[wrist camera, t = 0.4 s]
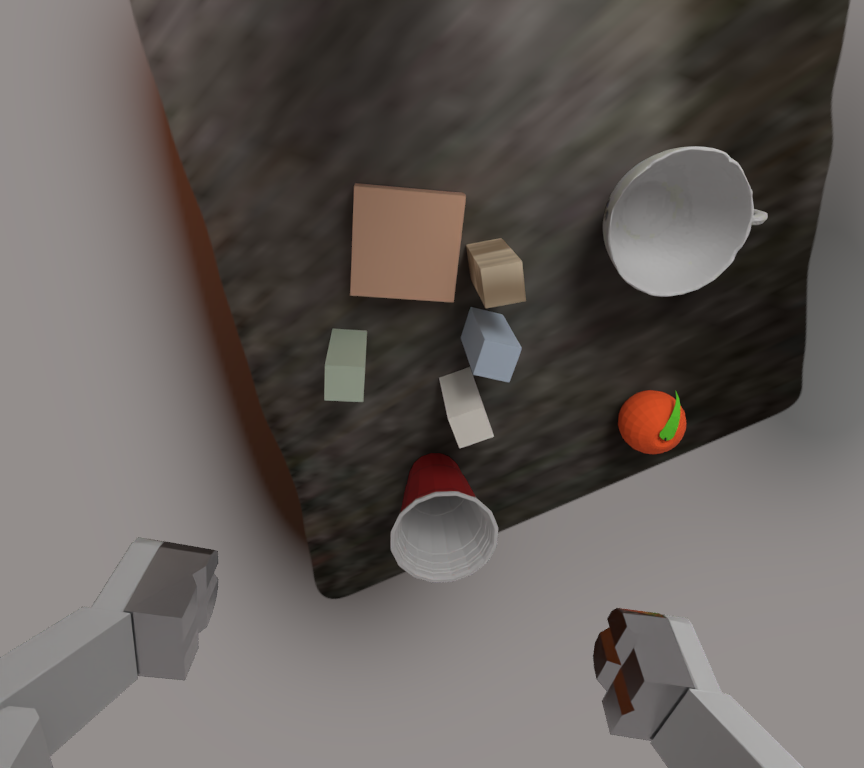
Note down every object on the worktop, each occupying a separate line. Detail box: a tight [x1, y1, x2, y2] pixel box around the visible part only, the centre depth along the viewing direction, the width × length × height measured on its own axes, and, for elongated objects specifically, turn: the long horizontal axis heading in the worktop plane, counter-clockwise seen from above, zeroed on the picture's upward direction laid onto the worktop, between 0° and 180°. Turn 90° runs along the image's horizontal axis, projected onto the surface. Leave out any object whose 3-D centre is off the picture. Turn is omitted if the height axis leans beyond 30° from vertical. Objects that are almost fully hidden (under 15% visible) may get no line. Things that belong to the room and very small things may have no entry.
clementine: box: [618, 390, 686, 454], centre depth 62 cm, size 8×7×7 cm
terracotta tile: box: [350, 183, 466, 302], centre depth 54 cm, size 10×10×2 cm
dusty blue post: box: [461, 307, 522, 382], centre depth 55 cm, size 4×4×9 cm
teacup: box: [603, 146, 768, 297], centre depth 52 cm, size 15×12×8 cm
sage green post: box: [324, 329, 367, 402], centre depth 55 cm, size 4×4×9 cm
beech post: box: [466, 238, 526, 308], centre depth 52 cm, size 4×4×9 cm
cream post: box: [439, 367, 494, 448], centre depth 58 cm, size 4×4×9 cm
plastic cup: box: [391, 453, 498, 583], centre depth 62 cm, size 11×11×12 cm
